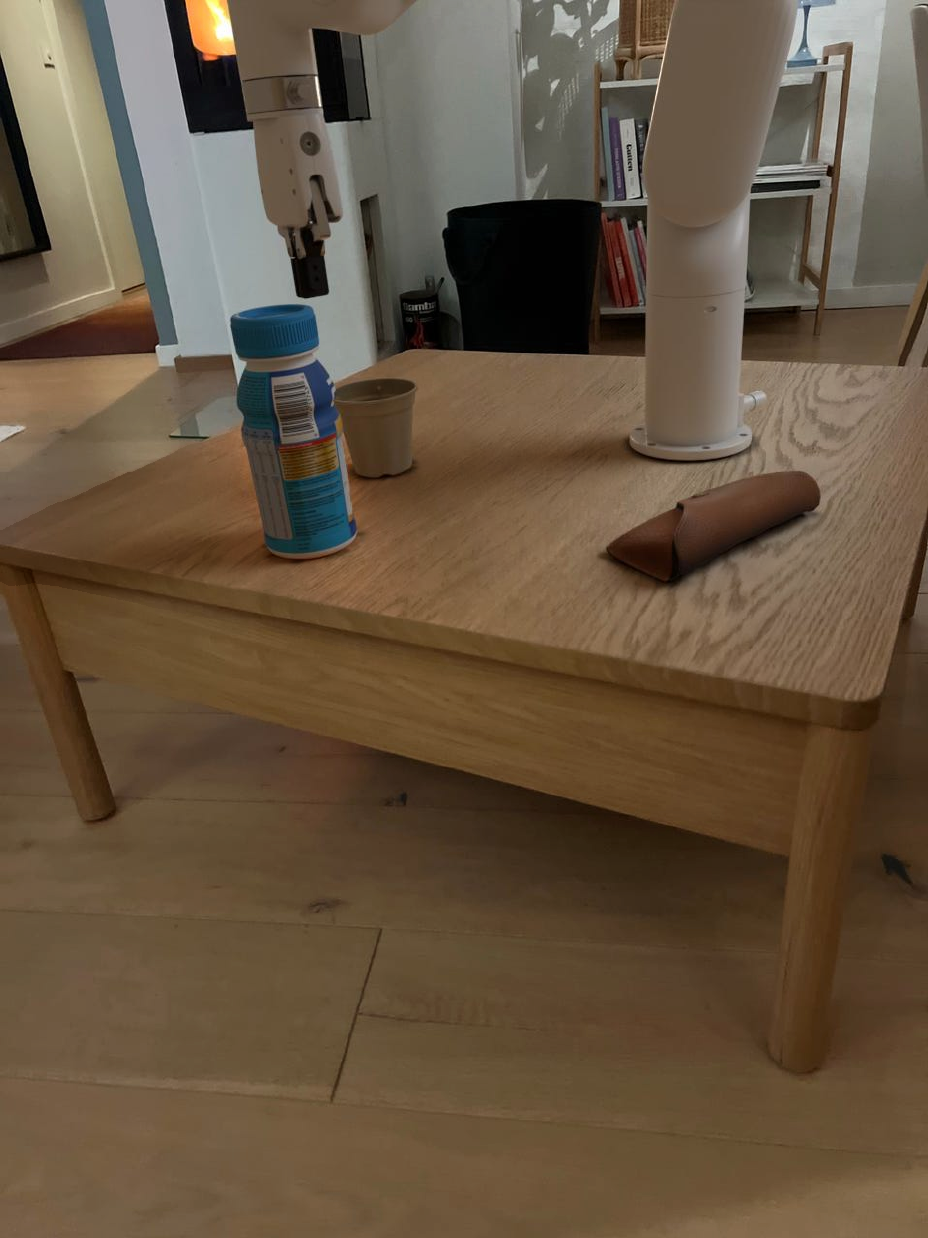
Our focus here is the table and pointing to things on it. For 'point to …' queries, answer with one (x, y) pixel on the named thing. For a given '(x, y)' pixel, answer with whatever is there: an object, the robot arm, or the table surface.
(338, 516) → the beverage bottle
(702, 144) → the robot arm
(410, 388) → the flower pot
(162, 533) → the table surface
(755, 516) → the sunglasses case
